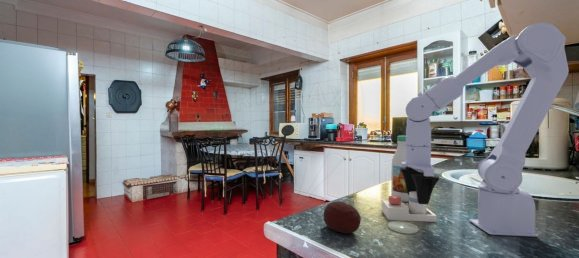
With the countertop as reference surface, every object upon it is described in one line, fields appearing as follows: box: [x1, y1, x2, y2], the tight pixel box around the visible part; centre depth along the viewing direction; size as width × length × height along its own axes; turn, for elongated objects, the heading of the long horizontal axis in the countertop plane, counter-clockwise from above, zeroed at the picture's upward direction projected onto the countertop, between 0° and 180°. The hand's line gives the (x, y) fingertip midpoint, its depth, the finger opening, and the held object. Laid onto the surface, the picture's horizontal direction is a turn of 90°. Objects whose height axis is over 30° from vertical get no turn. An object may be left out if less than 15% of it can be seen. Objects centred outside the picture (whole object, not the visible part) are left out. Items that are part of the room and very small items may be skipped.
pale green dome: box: [387, 220, 420, 235], centre depth 59 cm, size 6×6×1 cm
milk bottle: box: [390, 135, 409, 203], centre depth 81 cm, size 8×8×20 cm
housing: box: [381, 199, 437, 223], centre depth 66 cm, size 11×6×3 cm, turn 83°
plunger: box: [388, 195, 402, 205], centre depth 67 cm, size 3×3×4 cm
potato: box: [323, 200, 362, 234], centre depth 58 cm, size 7×10×6 cm
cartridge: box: [408, 191, 428, 214], centre depth 66 cm, size 4×4×6 cm
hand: (417, 199), depth 66 cm, fingers open, 7 cm apart
